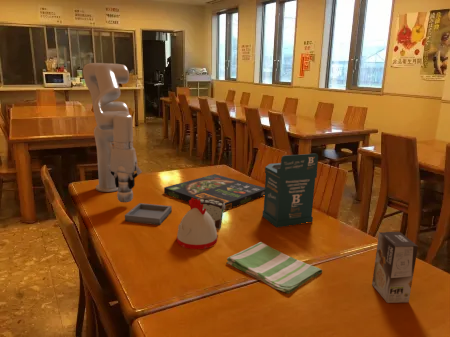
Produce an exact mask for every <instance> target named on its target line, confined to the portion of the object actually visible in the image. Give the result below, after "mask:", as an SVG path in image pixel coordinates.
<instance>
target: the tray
mask: <svg viewBox="0 0 450 337" xmlns="http://www.w3.org/2000/svg"><path fill="white" fill-rule="evenodd" d="M172 207H173V206H172V205H162V204H151V203H142V202H141V203H140V202H139V203H138V204H137V205H135V206H134V207H133V208H132V209H130V210H129V211H128V212H126V214H124V221H125V222H128V223H137V224H138V223H139V224H148V225H154V226H155V225H156V226H157V225H158V226H160V225H161V224H162V223H163V222H165V220H166V219H167V217H168V216H169V215H171V213H172V212H173V211H172Z"/></svg>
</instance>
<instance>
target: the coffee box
mask: <svg viewBox="0 0 450 337" xmlns="http://www.w3.org/2000/svg"><path fill="white" fill-rule="evenodd" d="M377 239H378V240H377V245H376V252H375V259H374V269H373V273H372V274H373V275H372V276H373V277H372V283H371V285H372V287H374V289H375V290H376V291H377V292H378V294H379V295H380V296H381V297H382V298H383V299H384V301H385V303H387V304H389V303H393V304H394V303H399V304H400V303H409V302H410V296H411V291H412V286H413V285H412V284H413V280H414V273H415V266H416V260H417V255H418V249H419V245H417V244H416V243H415V242H414V241H412V240H411V239H410V238H408V237H407V236H405V234H404V233H402V232H400V231H386V232H378V237H377Z"/></svg>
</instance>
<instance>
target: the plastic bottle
mask: <svg viewBox="0 0 450 337" xmlns="http://www.w3.org/2000/svg"><path fill="white" fill-rule="evenodd" d="M117 170H118V172H117V176H118V191H117V195H116V197H117V200H118V201H119V202H120V203H129V202H131V201H132V200H133V199H134V192H133V188H132V189H129V180H130V177H129V174H126V173H125V168H123V166H120V167H118V169H117Z"/></svg>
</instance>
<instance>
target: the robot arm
mask: <svg viewBox="0 0 450 337" xmlns="http://www.w3.org/2000/svg"><path fill="white" fill-rule="evenodd" d="M82 70H83V71H82V73H83V78H84V79H83V80H84V82H85V84H86V87H87V89H88V91H89V93H90V97H91V103H92V110H93V113H94V114H93V115H94V119H95V123H96V125H95V127H94V129H93V136H94V140H95V145H96V156H97V157H96V158H97V171H98V173H97V174H98V175H97V176H98V184H97V185H96V186H95V190H96V191H98V192H101V193H102V192H103V193H113V192H118V176H117V172H118V170H117V169H118V167H120V166H123V168H125V173H126V174H129V177H130V180H129V189H132V190H133V189H134V187H135V185H136V184H135V182H136V180H135V179H136V178H137V177H138V176H139V175H140V174H141V173H142V172H143V170H142V169H141V168H140V167H139V165H138V158H137V152H136V148H135V147H134V128H133V127H134V124H133V123H134V122H133V116H132V114H130V111H129V107H128V105H127V104H126V103H125V102H124V101H116V100H118V99H119V98H120V97H121V94H122V92H121V88H120V85H119V84H122V85H123V84H124V85H125V84H128V83H129V81H130V72H129V69H128V67H127V66H126V65H125V64H120V63H106V62H90V63H87V64H85V65H84V66H83V69H82ZM135 171H136V172H135Z"/></svg>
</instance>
